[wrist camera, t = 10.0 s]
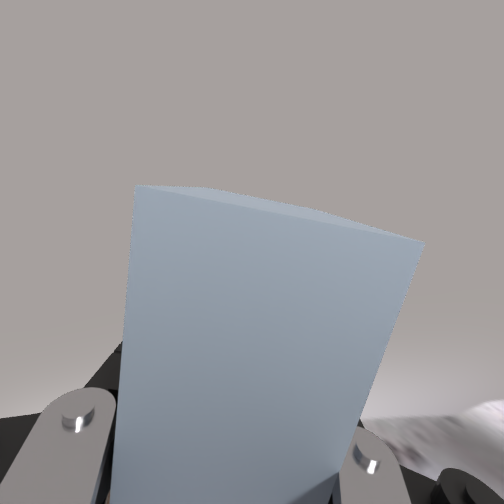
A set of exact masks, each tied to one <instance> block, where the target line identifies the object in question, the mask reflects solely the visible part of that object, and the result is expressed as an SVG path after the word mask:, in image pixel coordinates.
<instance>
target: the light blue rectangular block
mask: <svg viewBox="0 0 504 504" xmlns="http://www.w3.org/2000/svg"><path fill="white" fill-rule="evenodd" d="M424 245H425V243H424V242H421V241H418V240H414V239H411V238H408V237H404V236H401V235H398V234H395V233H391V232H388V231H385V230H381V229H378V228H375V227H372V226H368V225H365V224H361V223H358V222H355V221H352V220H348V219H345V218H342V217H339V216H335V215H332V214H329V213H325V212H322V211H318V210H315V209H311V208H306V207H301V206H296V205H291V204H286V203H281V202H276V201H271V200H266V199H261V198H256V197H252V196H247V195H241V194H237V193H231V192H227V191H222V190H216V189H212V188H203V187H174V186H146V185H145V186H144V185H136V186H135V196H134V209H133V221H132V233H131V245H130V258H129V270H128V282H127V295H126V306H125V320H124V332H123V343H122V356H121V368H120V380H119V392H118V405H117V417H116V429H115V441H114V454H113V466H112V478H111V490H110V503H109V504H328V502H329V499H330V496H331V494H332V489H333V486H334V483H335V481H336V478H337V475H338V473H339V472H340V470H341V467H342V464H343V462H344V459H345V456H346V454H347V451H348V448H349V446H350V443H351V440H352V438H353V435H354V432H355V429H356V427H357V424H358V421H359V419H360V416H361V413H362V411H363V408H364V405H365V403H366V400H367V397H368V395H369V392H370V389H371V386H372V384H373V381H374V378H375V376H376V373H377V370H378V368H379V365H380V363H381V360H382V357H383V355H384V352H385V349H386V346H387V344H388V341H389V338H390V335H391V333H392V330H393V328H394V325H395V322H396V320H397V317H398V314H399V312H400V309H401V306H402V304H403V301H404V298H405V296H406V293H407V290H408V288H409V285H410V282H411V280H412V277H413V274H414V271H415V269H416V266H417V264H418V261H419V258H420V255H421V253H422V250H423V247H424Z"/></svg>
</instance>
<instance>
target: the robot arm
mask: <svg viewBox="0 0 504 504" xmlns="http://www.w3.org/2000/svg"><path fill="white" fill-rule="evenodd" d="M122 343H123V341H122V342H121V344H119V346H118V347H117V348H116V349H115V350H114V353H112V354H111V355H110V356H109V358H108V359H107V360H106V361H105V362H104V364H103V365H102V366H101V367H100V369H99V370H98V371H97V372H96V373H95V375H94V376H93V377H92V378H91V379H90V381H89V382H88V383H87V384H86V385H85V387H84V388H82V389H77V390H74V391H71V392H69V393H66V394H64V395H62V396H61V397H59V398H57V399H56V400H54V401H53V402H52V403H50V404H49V405H48V406H47V407H46V408H45V409H44V410H43V412H41V413H37V414H31V415H24V416H17V417H9V418H1V419H0V504H107V502H108V497H109V491H110V489H111V478H112V466H113V454H114V441H115V429H116V417H117V405H118V392H119V380H120V368H121V356H122ZM328 504H504V500H503V499H502V498H501V497H500V496H499V495H498V494H496V493H495V492H494V491H493V490H492V489H491V488H489V487H488V486H487V485H486V484H484V483H483V482H482V481H480V480H479V479H477V478H475V477H474V476H472V475H470V474H468V473H466V472H464V471H461V470H459V469H455V468H447V469H444V470H443V471H442V472H441V474H440V476H439V478H438V480H437V482H436V481H434V480H432V479H430V478H427V477H425V476H423V475H421V474H419V473H416V472H414V471H412V470H410V469H407V468H405V467H403V466H401V465H399V464H398V461H397V459H396V457H395V455H394V454H393V452H392V451H391V450H390V448H389V447H388V446H387V445H386V444H385V443H384V442H383V441H382V440H381V439H380V438H379V437H377V436H376V435H375V434H373V433H372V432H370V431H368V430H366V429H365V428H364V426H363V424H362V422H361V420H360V419H359V421H358V424H357V427H356V429H355V432H354V435H353V438H352V440H351V443H350V446H349V448H348V451H347V454H346V456H345V459H344V462H343V464H342V467H341V470H340V472H339V473H338V475H337V478H336V481H335V483H334V486H333V489H332V494H331V496H330V499H329V502H328Z"/></svg>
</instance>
